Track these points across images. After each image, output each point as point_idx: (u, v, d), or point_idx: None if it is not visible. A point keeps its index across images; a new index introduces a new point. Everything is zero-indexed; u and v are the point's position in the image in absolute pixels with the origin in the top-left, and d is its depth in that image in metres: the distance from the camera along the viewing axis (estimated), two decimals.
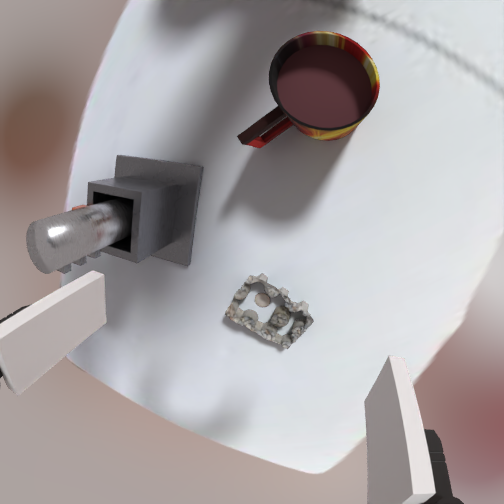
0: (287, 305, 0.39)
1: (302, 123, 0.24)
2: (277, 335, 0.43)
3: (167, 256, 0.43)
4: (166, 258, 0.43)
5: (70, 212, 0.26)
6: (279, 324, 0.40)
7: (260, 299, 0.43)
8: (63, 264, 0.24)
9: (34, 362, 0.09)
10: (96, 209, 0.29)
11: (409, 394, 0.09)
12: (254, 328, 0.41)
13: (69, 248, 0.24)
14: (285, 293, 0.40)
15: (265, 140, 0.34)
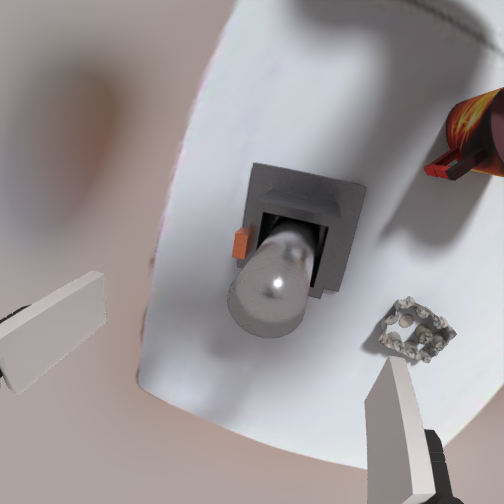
0: (435, 323, 0.35)
1: None
2: None
3: None
4: None
5: (284, 248, 0.22)
6: (425, 342, 0.36)
7: (404, 320, 0.39)
8: None
9: (34, 362, 0.09)
10: (299, 241, 0.25)
11: (409, 394, 0.09)
12: (403, 350, 0.37)
13: None
14: None
15: None
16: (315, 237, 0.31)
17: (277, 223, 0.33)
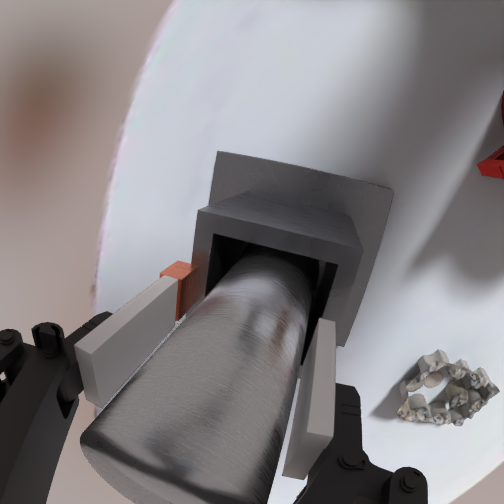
0: (473, 382, 0.22)
1: None
2: None
3: None
4: None
5: (227, 339, 0.09)
6: (459, 405, 0.23)
7: (431, 380, 0.25)
8: None
9: (119, 371, 0.10)
10: (275, 305, 0.11)
11: (329, 350, 0.11)
12: (429, 418, 0.24)
13: None
14: (468, 367, 0.23)
15: None
16: (311, 277, 0.18)
17: (248, 250, 0.20)
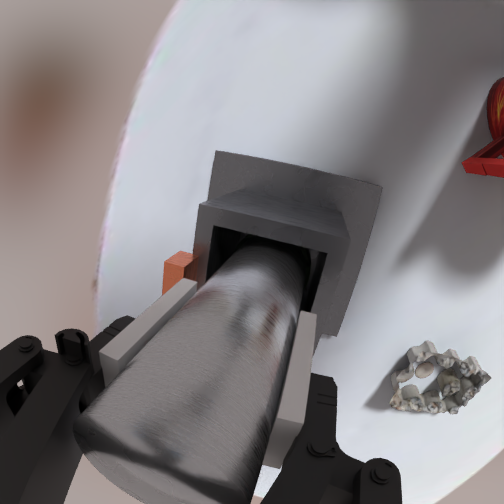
0: (463, 371, 0.23)
1: None
2: None
3: None
4: None
5: (216, 330, 0.09)
6: (451, 393, 0.24)
7: (422, 370, 0.27)
8: None
9: None
10: (264, 299, 0.12)
11: (308, 341, 0.11)
12: (423, 407, 0.25)
13: None
14: (457, 356, 0.24)
15: None
16: (302, 273, 0.18)
17: None
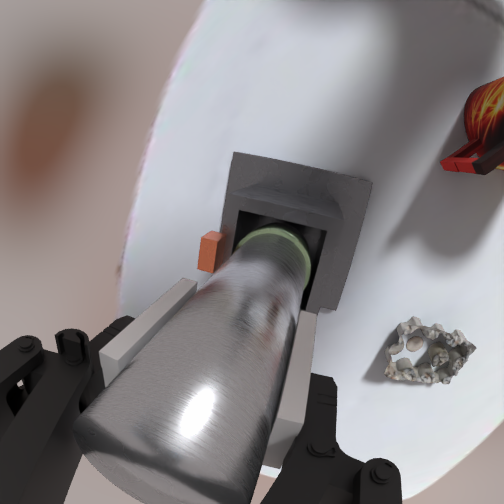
0: (449, 342, 0.28)
1: None
2: None
3: None
4: None
5: (215, 331, 0.09)
6: (441, 363, 0.29)
7: (413, 344, 0.32)
8: None
9: None
10: (264, 299, 0.12)
11: (308, 341, 0.11)
12: (416, 377, 0.30)
13: None
14: (442, 329, 0.29)
15: None
16: (302, 273, 0.18)
17: None
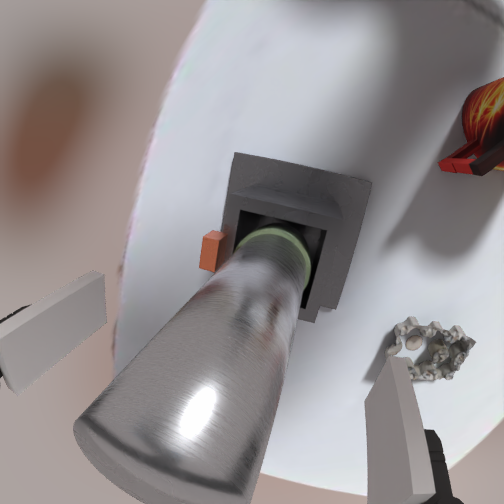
0: (447, 338, 0.28)
1: None
2: (435, 370, 0.32)
3: None
4: None
5: (215, 331, 0.09)
6: (441, 360, 0.29)
7: (412, 343, 0.32)
8: None
9: (34, 362, 0.09)
10: (264, 300, 0.12)
11: (409, 394, 0.09)
12: (417, 376, 0.30)
13: None
14: (439, 326, 0.29)
15: None
16: (302, 274, 0.18)
17: None
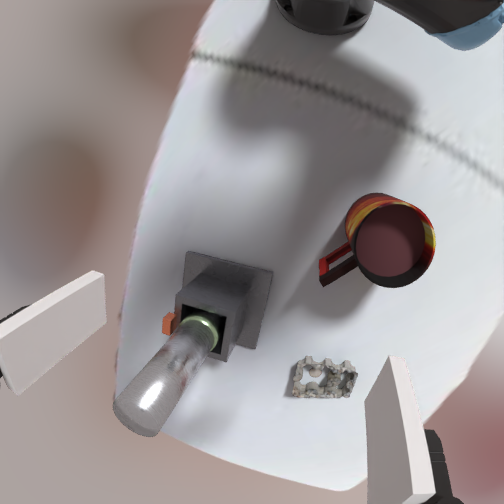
0: (334, 371, 0.46)
1: (375, 282, 0.32)
2: (337, 390, 0.49)
3: (237, 341, 0.50)
4: (236, 342, 0.50)
5: (154, 375, 0.27)
6: (334, 385, 0.47)
7: (313, 372, 0.50)
8: None
9: (34, 362, 0.09)
10: (175, 363, 0.29)
11: (409, 394, 0.09)
12: (318, 395, 0.48)
13: (166, 417, 0.25)
14: (329, 362, 0.47)
15: (329, 262, 0.42)
16: (207, 343, 0.36)
17: (180, 326, 0.38)
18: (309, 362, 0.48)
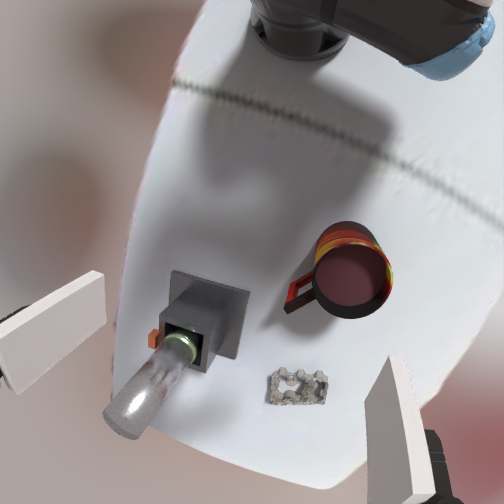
0: (306, 381, 0.50)
1: (333, 313, 0.35)
2: (314, 397, 0.53)
3: (218, 351, 0.54)
4: (217, 353, 0.55)
5: (136, 389, 0.31)
6: (308, 393, 0.51)
7: (289, 382, 0.54)
8: None
9: (34, 362, 0.09)
10: (155, 378, 0.34)
11: (409, 394, 0.09)
12: (295, 402, 0.52)
13: (146, 424, 0.29)
14: (301, 373, 0.51)
15: (299, 287, 0.45)
16: (185, 359, 0.40)
17: (162, 342, 0.42)
18: (282, 373, 0.52)
